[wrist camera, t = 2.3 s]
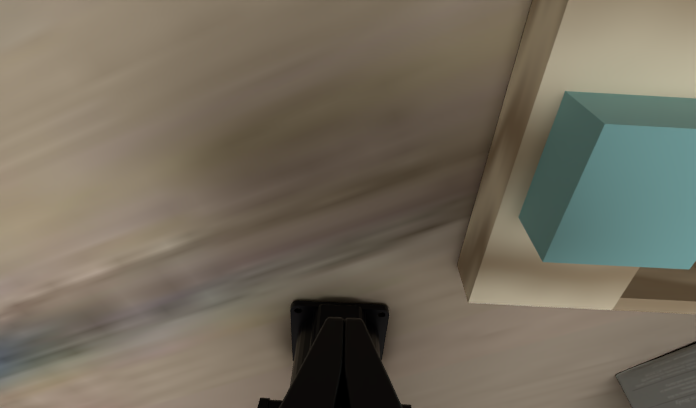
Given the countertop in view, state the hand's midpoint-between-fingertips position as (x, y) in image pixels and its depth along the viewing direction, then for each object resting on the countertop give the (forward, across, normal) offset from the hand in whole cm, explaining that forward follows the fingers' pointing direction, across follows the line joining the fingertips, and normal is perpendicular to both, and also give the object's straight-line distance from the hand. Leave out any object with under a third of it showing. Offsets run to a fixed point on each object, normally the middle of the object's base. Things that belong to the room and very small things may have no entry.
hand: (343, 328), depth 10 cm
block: (+9, -11, 0) cm, 14 cm away
